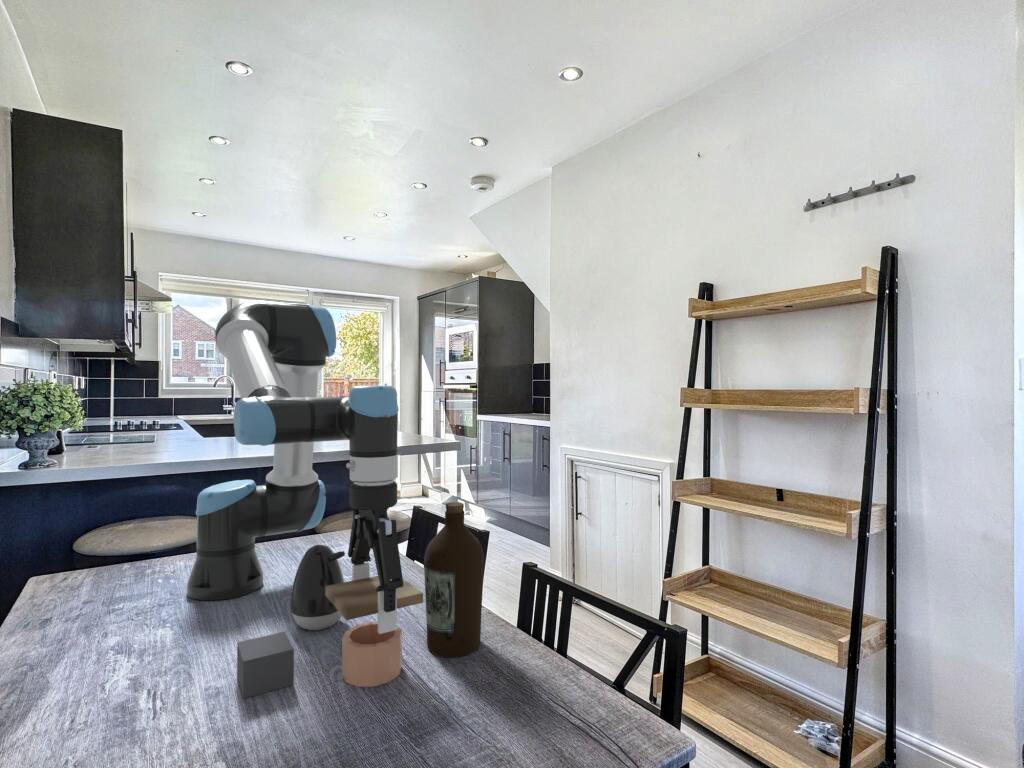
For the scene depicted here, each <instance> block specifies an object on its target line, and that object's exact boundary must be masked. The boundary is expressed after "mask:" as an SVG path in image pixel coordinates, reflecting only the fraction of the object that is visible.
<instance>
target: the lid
mask: <svg viewBox="0 0 1024 768" xmlns="http://www.w3.org/2000/svg"><path fill="white" fill-rule="evenodd" d="M390 581H392V579H391V580H390ZM378 586H380V582H379V578H378V575H376V576H371V577H370V576H369V578H364V579H359V580H354V581H352V580H350V581H344V582H343V583H338V584H333V585H328V586H325V596H326V597H327V598H328V599H329V600H330V601H331V603H332V604H333V605H334V606H335V607H336V608H337V610H338V611H339V612H340V613H341V614H342V615H341V616H342V617H343V618H344V619H345V620H346V621H350V620H353V619H357V618H358V619H359V618H362V617H367V616H371V615H376V614H378V592H377V591H376V588H377V587H378ZM423 603H424V592H423V591H421V590H420V589H418V588H417V587H415V586H414V585H413V584H412V583H411V582H409V581H407V580H406V579H405V578H403V587H400V588H397V610H398V609H401V608H405V607H411V606H414V605H419V604H423Z"/></svg>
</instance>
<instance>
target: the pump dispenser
mask: <svg viewBox="0 0 1024 768" xmlns="http://www.w3.org/2000/svg"><path fill="white" fill-rule="evenodd" d="M345 555H346V552H345V551H344V550H340V551H337V552H334V551H333V550H332V548H331V547H330V546H327V545H326V544H316V545H313V546H311V547H310V548H308V549H307V551H305V553H304V555H303V556H302V559H301V560H300V562H299V565H298V567H297V570H296V574H295V575H294V580H293V582H292V583H293V584H292V589H291V593H290V601H289V602H290V603H289V611H290V612H291V614H292V617H293V618H292V619H294V622H295V623H296V624H297V625H298V626H299V627H301V628H302V629H304V630H309V631H320V630H325V629H328V628H329V627H331V626H333V625H335V623H336V622H338V621H339V620H340V618H341V616H342V614H341V613H340V612H339V611H338V610H337V608H336V607H335V606H334V605H333V604H332V603H331V601H330V600H329V599H328V598H327V597H326V596H325V586H328V585H333V584H338V583H343V582H345V579H344V574H343V571H342V568H341V566H340V562H339V559H341V558H343V557H345Z"/></svg>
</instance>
